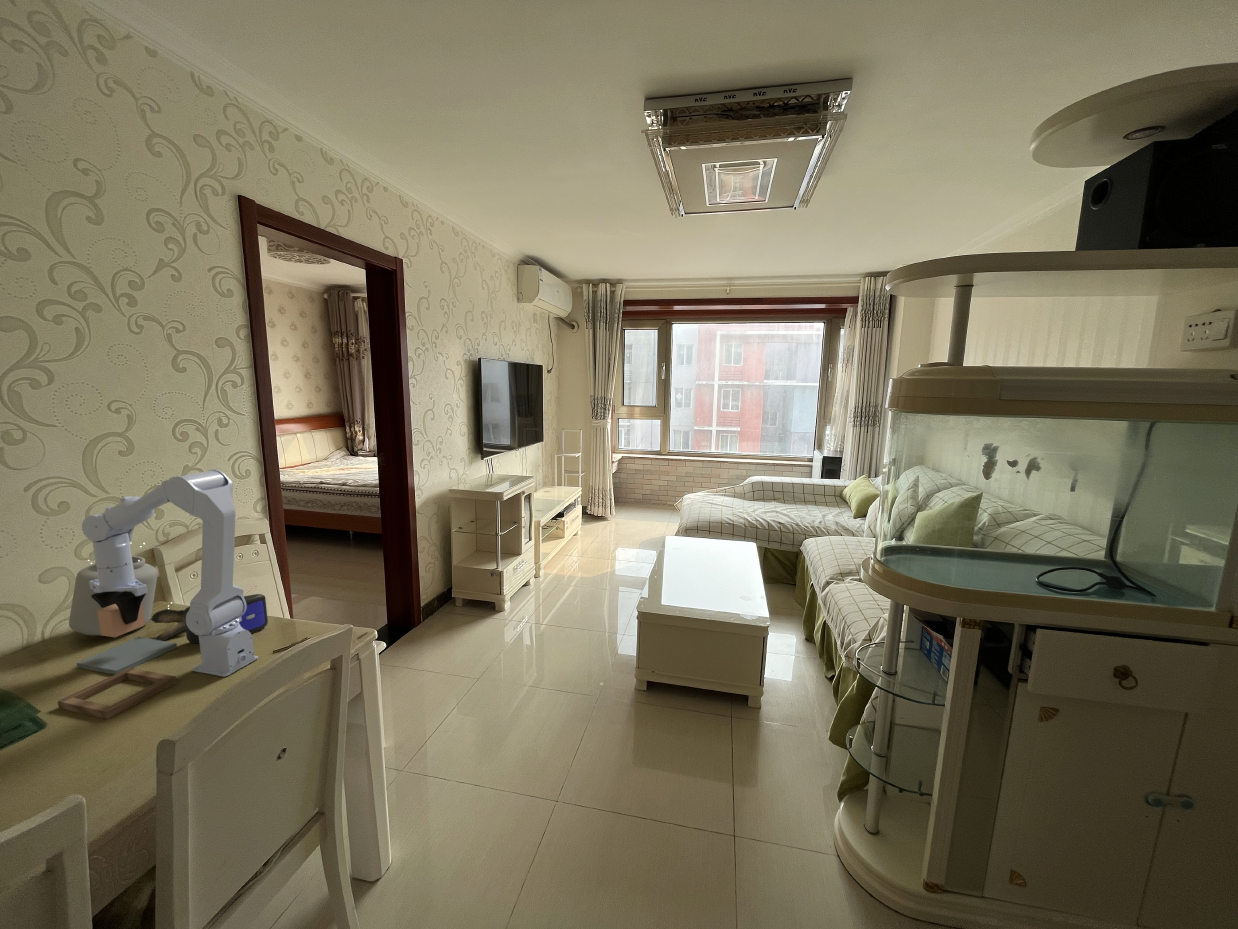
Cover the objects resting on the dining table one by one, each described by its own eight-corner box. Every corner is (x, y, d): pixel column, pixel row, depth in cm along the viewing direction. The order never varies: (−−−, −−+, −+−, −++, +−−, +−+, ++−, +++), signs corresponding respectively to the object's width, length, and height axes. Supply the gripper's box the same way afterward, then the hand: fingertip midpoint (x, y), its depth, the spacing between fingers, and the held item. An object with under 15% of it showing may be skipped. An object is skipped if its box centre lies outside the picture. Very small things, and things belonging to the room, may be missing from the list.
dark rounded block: (185, 650, 119) (180, 613, 117) (188, 641, 123) (183, 605, 121) (268, 632, 128) (264, 597, 126) (268, 625, 131) (265, 591, 130)
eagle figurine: (191, 616, 133) (147, 624, 125) (200, 597, 131) (155, 604, 123) (200, 638, 130) (154, 647, 122) (208, 619, 128) (163, 627, 120)
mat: (176, 647, 120) (176, 643, 120) (117, 674, 108) (116, 670, 108) (139, 640, 123) (138, 636, 122) (77, 667, 111) (76, 662, 111)
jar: (172, 607, 141) (161, 522, 137) (175, 626, 130) (162, 534, 126) (74, 629, 128) (59, 535, 124) (68, 651, 117) (50, 550, 113)
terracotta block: (145, 625, 117) (141, 600, 116) (114, 637, 111) (110, 612, 110) (132, 623, 118) (128, 599, 117) (101, 635, 112) (97, 610, 111)
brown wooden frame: (176, 683, 106) (175, 676, 106) (107, 719, 94) (106, 712, 94) (130, 674, 109) (130, 667, 109) (58, 708, 97) (57, 701, 97)
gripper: (68, 567, 110) (78, 625, 112) (117, 574, 106) (126, 633, 109) (107, 557, 117) (116, 611, 119) (154, 562, 113) (162, 618, 115)
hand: (123, 621), depth 114 cm, fingers closed on terracotta block, 4 cm apart
